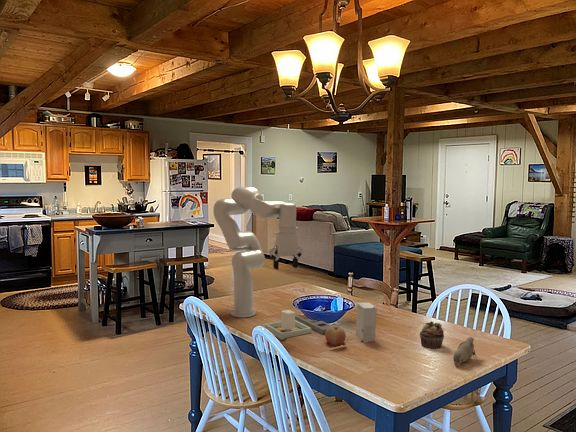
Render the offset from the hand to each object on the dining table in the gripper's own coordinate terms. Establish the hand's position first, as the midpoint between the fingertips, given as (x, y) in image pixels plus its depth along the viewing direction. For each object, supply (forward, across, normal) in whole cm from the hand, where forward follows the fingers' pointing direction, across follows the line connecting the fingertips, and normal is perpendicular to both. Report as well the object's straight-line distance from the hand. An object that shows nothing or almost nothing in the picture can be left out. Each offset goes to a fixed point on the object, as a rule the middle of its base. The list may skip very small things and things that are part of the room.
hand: (285, 268), depth 214 cm
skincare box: (+26, -24, +30) cm, 46 cm away
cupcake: (+25, -42, +50) cm, 70 cm away
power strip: (+27, -12, +4) cm, 30 cm away
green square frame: (+27, +2, +8) cm, 28 cm away
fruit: (+26, -8, +30) cm, 41 cm away
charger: (+27, +2, +8) cm, 28 cm away
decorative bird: (+24, -41, +67) cm, 82 cm away
